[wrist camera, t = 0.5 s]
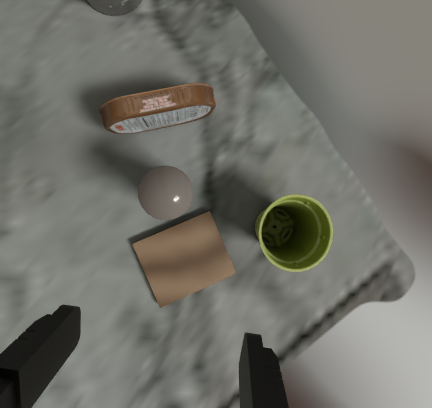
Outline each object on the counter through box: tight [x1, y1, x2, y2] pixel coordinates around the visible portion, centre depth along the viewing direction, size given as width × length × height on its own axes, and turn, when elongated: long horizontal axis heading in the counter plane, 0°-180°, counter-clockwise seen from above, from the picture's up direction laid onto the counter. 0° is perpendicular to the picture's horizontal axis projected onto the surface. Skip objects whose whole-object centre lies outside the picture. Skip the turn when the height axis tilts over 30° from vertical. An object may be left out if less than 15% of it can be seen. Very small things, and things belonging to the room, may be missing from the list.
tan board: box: [132, 211, 236, 308], centre depth 38 cm, size 10×12×1 cm
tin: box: [99, 83, 216, 134], centre depth 34 cm, size 15×3×8 cm, turn 103°
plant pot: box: [255, 194, 333, 272], centre depth 36 cm, size 9×9×9 cm
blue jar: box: [138, 166, 193, 220], centre depth 33 cm, size 6×6×12 cm
